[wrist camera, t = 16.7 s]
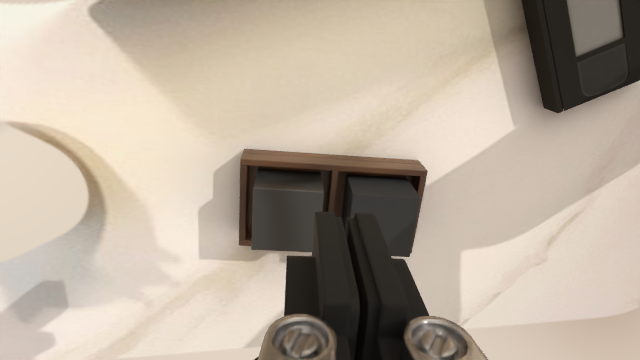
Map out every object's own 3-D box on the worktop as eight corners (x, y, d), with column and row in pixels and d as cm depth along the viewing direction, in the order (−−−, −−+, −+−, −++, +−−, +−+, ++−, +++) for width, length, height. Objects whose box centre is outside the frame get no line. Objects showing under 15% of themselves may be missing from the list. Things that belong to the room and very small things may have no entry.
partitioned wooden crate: (418, 160, 34) (438, 183, 29) (404, 238, 36) (420, 270, 32) (244, 148, 33) (235, 170, 28) (242, 230, 35) (234, 262, 31)
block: (406, 177, 33) (421, 197, 30) (397, 231, 35) (409, 257, 31) (346, 173, 33) (352, 194, 29) (339, 228, 35) (345, 254, 31)
